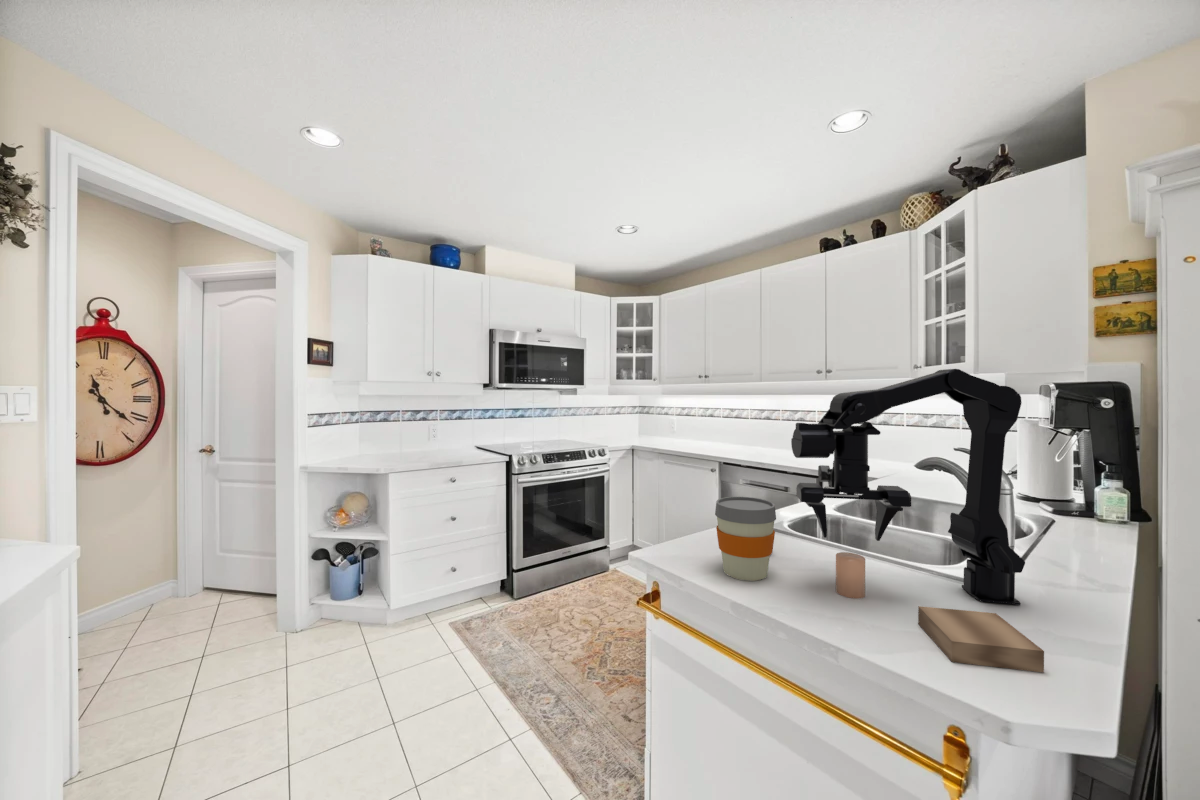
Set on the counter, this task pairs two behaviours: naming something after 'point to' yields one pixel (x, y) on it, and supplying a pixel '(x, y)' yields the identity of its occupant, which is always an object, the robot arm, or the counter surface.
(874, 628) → the counter surface
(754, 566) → the reusable coffee cup
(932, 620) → the walnut block
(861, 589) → the tan cylinder
